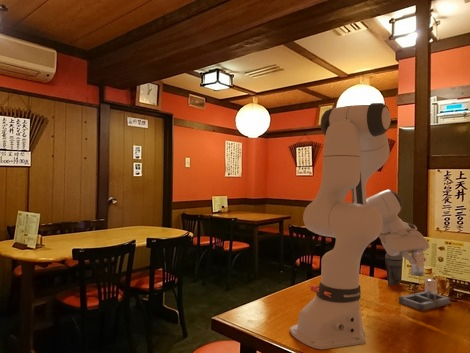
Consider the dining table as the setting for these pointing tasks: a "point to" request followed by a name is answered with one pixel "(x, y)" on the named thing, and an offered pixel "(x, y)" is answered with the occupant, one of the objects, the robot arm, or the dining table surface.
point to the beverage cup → (393, 268)
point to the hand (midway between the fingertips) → (419, 262)
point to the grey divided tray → (423, 301)
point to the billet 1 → (417, 264)
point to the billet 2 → (431, 288)
